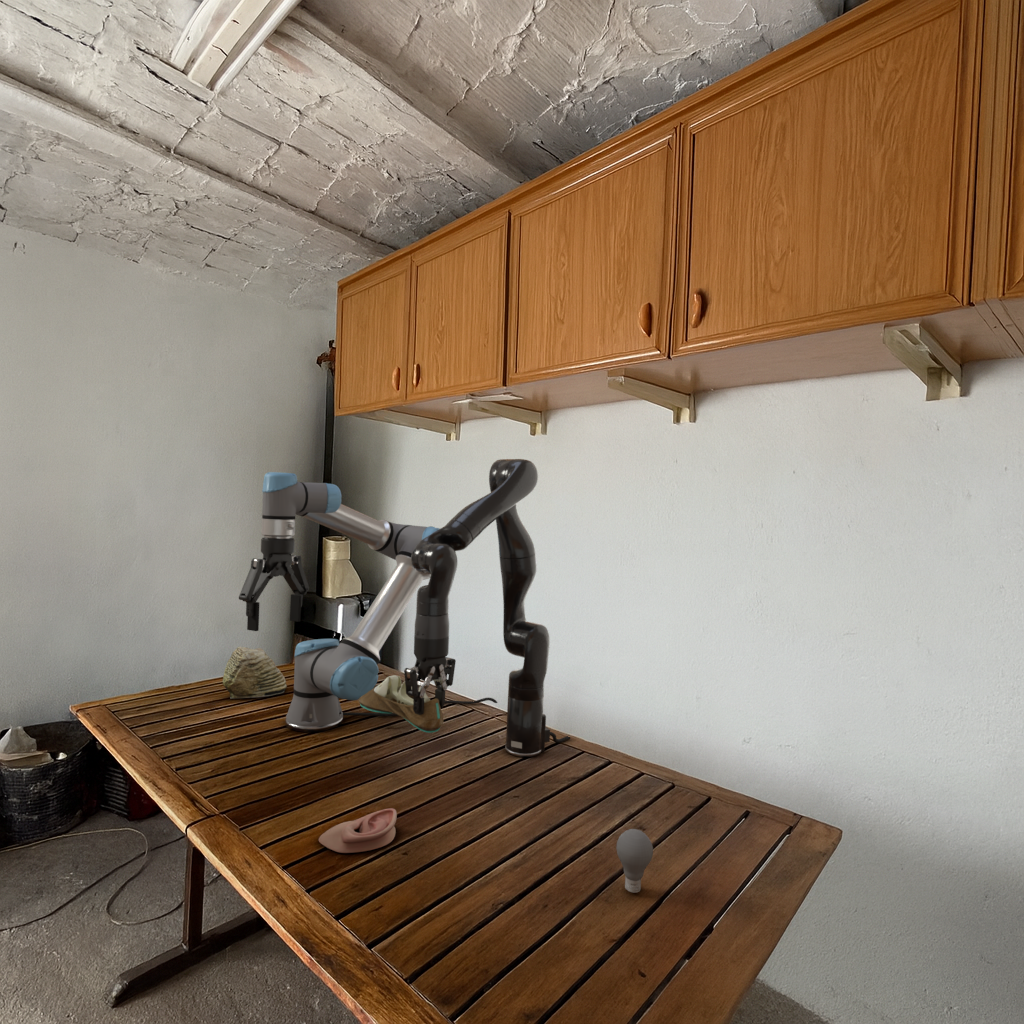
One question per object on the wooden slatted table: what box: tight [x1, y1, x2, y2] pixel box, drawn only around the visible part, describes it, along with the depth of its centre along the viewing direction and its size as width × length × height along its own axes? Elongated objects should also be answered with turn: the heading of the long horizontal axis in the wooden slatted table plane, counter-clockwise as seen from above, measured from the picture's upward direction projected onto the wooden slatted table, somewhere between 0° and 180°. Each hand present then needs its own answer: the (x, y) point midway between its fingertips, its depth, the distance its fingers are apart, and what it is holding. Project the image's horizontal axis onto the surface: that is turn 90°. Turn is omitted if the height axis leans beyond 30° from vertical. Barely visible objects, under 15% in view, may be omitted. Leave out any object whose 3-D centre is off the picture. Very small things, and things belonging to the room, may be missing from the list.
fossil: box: [222, 646, 288, 699], centre depth 198 cm, size 9×18×15 cm, turn 132°
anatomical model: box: [318, 807, 398, 854], centre depth 118 cm, size 13×4×12 cm
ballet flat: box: [357, 674, 444, 734], centre depth 143 cm, size 8×24×9 cm, turn 52°
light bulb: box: [615, 828, 654, 894], centre depth 106 cm, size 6×6×10 cm
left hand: (274, 625), depth 152 cm, fingers open, 13 cm apart
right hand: (429, 709), depth 138 cm, fingers closed on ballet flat, 5 cm apart
